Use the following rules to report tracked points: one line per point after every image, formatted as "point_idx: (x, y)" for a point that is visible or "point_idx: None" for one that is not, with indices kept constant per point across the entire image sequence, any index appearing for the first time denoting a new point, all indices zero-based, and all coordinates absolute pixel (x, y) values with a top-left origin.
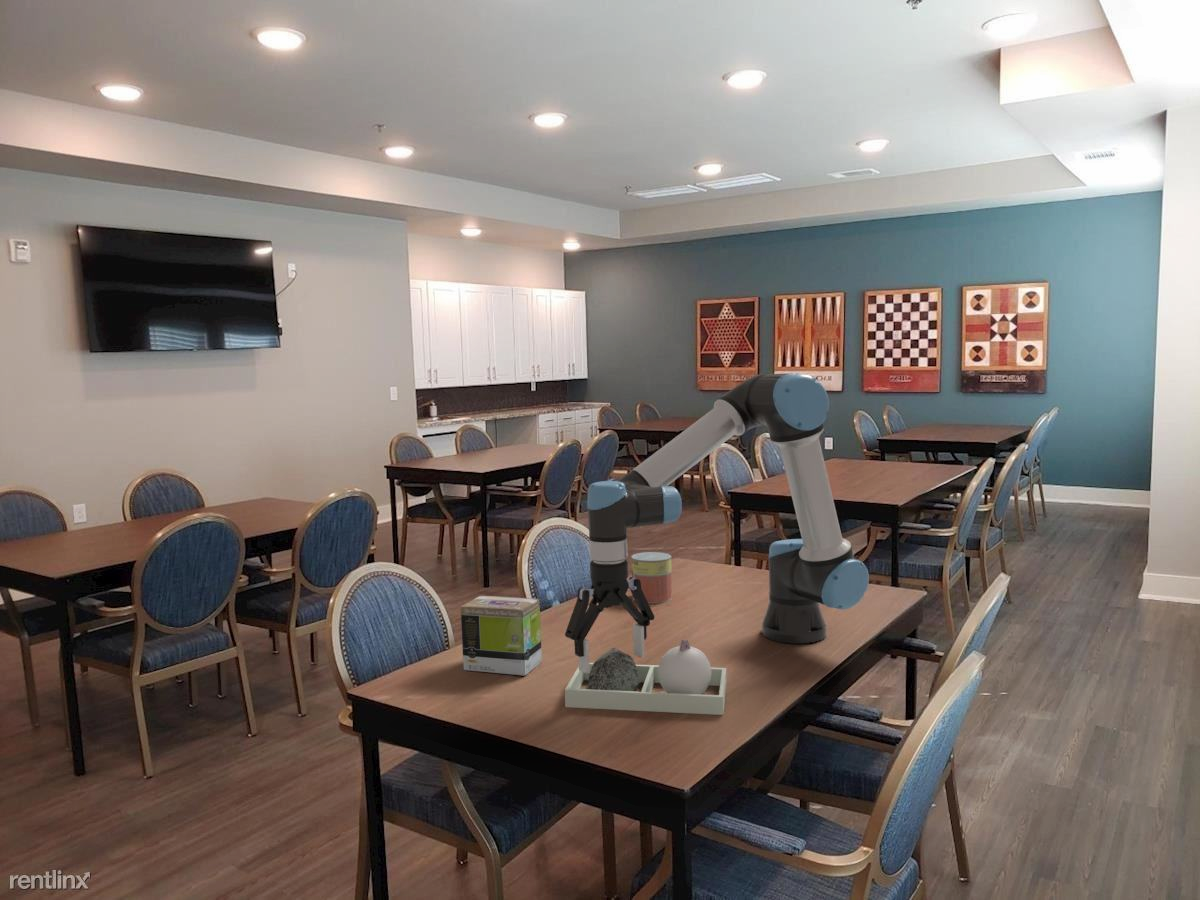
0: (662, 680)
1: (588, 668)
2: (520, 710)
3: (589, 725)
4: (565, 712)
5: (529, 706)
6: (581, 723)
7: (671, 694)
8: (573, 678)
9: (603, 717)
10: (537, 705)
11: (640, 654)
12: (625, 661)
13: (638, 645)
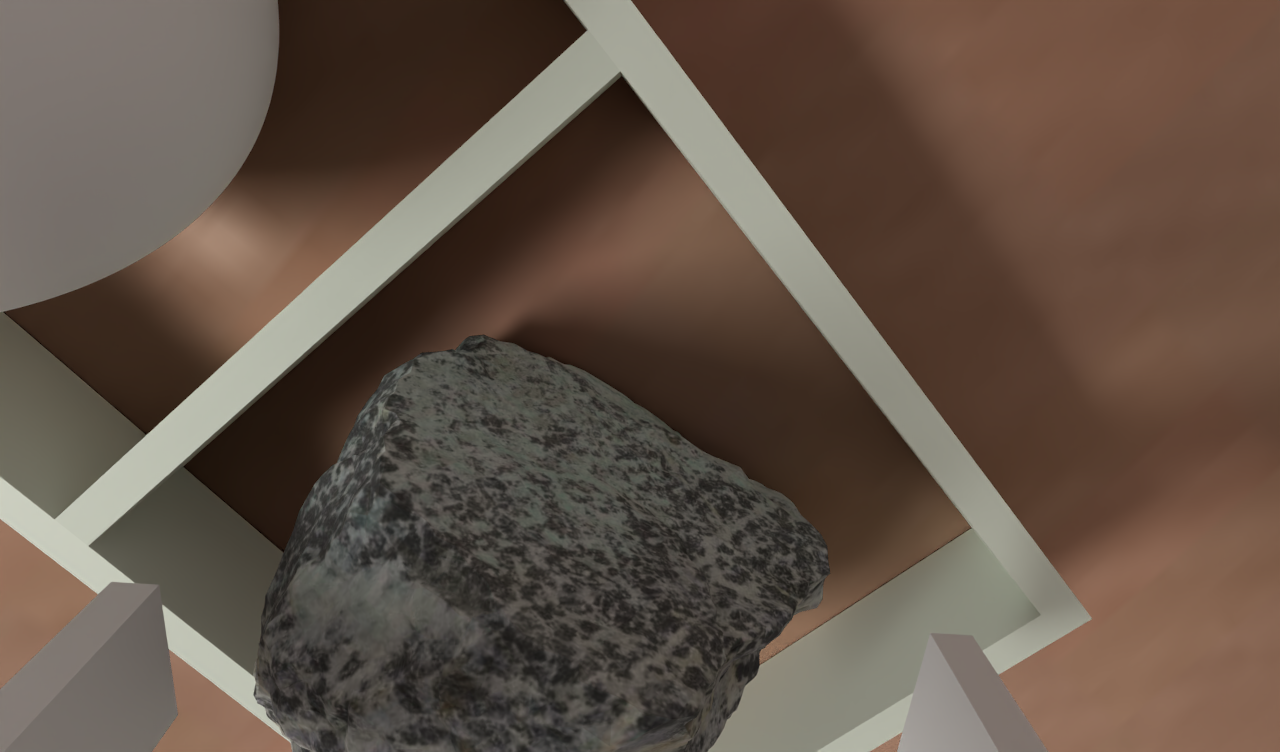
0: (263, 34)
1: (964, 669)
2: (1240, 675)
3: (1182, 132)
4: (1086, 460)
5: (1152, 688)
6: (1186, 213)
7: None
8: (845, 749)
9: (978, 181)
10: (1106, 669)
11: (139, 630)
12: (464, 567)
13: (71, 750)
